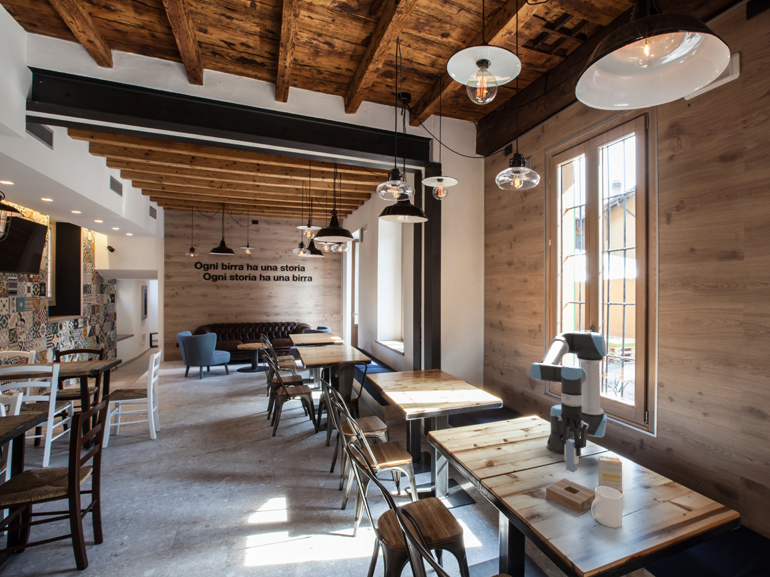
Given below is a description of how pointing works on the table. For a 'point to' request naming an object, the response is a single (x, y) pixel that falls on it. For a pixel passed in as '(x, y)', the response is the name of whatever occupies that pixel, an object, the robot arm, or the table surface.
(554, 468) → the table surface
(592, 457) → the table surface
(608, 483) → the supplement box
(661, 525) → the table surface
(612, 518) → the mug
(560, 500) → the socket block
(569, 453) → the peg
